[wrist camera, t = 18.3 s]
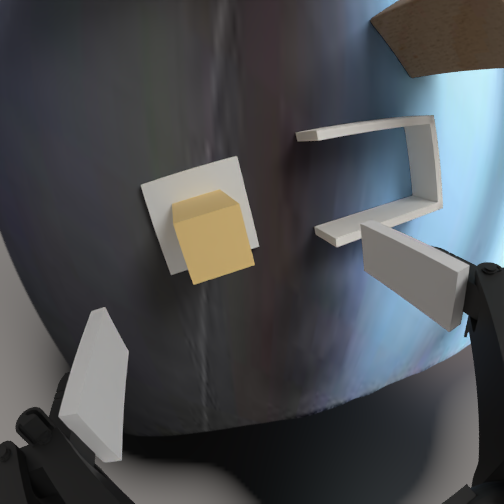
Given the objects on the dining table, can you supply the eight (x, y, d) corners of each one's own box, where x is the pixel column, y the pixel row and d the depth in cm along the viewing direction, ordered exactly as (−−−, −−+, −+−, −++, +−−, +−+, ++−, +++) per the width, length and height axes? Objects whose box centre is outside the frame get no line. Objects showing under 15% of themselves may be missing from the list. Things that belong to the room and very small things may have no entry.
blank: (171, 203, 30) (173, 224, 21) (219, 189, 30) (239, 203, 22) (186, 249, 31) (193, 284, 23) (231, 234, 32) (254, 264, 24)
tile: (141, 184, 29) (140, 185, 28) (235, 156, 30) (236, 156, 30) (170, 273, 32) (171, 275, 32) (257, 244, 34) (259, 246, 34)
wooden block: (410, 79, 32) (535, 69, 14) (367, 20, 28) (487, -25, 10) (438, 51, 32) (546, 38, 14) (401, -2, 28) (505, -37, 10)
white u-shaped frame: (295, 132, 31) (316, 130, 27) (407, 116, 34) (433, 115, 29) (315, 234, 36) (336, 247, 31) (417, 200, 38) (442, 208, 34)
